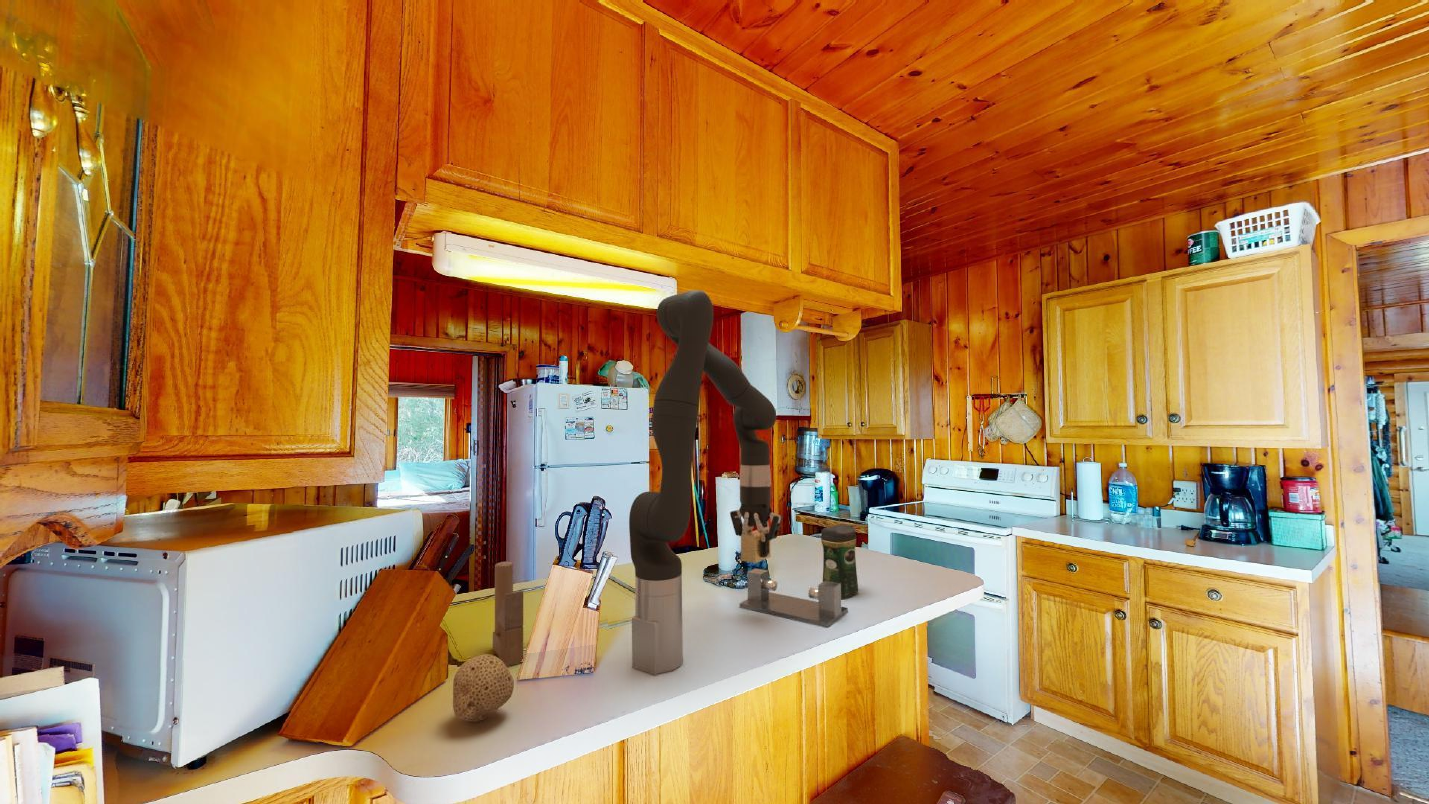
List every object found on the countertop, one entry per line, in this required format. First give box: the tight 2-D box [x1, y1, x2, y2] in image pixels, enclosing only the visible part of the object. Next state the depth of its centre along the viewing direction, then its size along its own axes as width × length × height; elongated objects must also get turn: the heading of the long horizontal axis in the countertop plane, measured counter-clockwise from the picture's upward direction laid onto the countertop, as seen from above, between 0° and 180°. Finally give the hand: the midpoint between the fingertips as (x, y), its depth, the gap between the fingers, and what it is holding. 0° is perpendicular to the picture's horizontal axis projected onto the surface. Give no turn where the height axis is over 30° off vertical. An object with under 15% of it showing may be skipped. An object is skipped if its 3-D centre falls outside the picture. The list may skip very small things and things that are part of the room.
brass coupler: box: [740, 529, 772, 564], centre depth 127 cm, size 4×7×6 cm, turn 144°
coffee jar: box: [820, 523, 859, 599], centre depth 145 cm, size 10×8×19 cm
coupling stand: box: [739, 568, 849, 628], centre depth 133 cm, size 12×24×8 cm, turn 54°
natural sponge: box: [452, 653, 515, 723], centre depth 85 cm, size 9×9×10 cm
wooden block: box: [492, 561, 524, 668], centre depth 109 cm, size 4×11×18 cm, turn 35°
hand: (756, 555), depth 127 cm, fingers closed on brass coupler, 4 cm apart
